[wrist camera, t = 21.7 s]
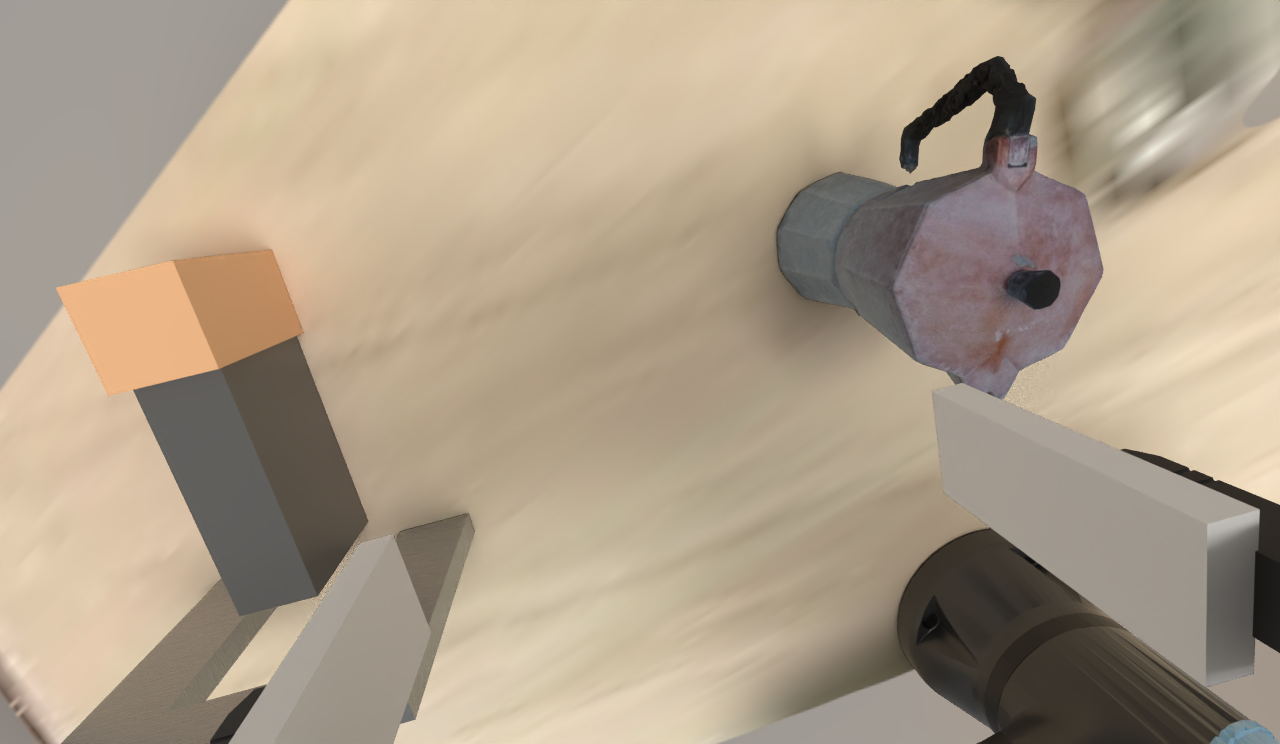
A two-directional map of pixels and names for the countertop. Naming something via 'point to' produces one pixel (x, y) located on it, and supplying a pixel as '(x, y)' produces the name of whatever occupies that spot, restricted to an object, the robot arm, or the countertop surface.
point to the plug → (229, 415)
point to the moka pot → (954, 247)
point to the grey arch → (216, 636)
